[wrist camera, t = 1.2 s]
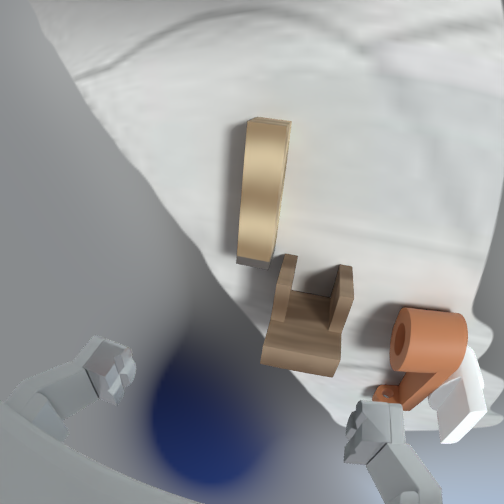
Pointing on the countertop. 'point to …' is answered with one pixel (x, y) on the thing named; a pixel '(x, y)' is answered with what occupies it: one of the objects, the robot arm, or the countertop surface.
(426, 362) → the crank
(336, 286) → the wooden u-shaped bracket
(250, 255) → the rail
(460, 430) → the white piece
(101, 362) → the robot arm
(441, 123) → the countertop surface
